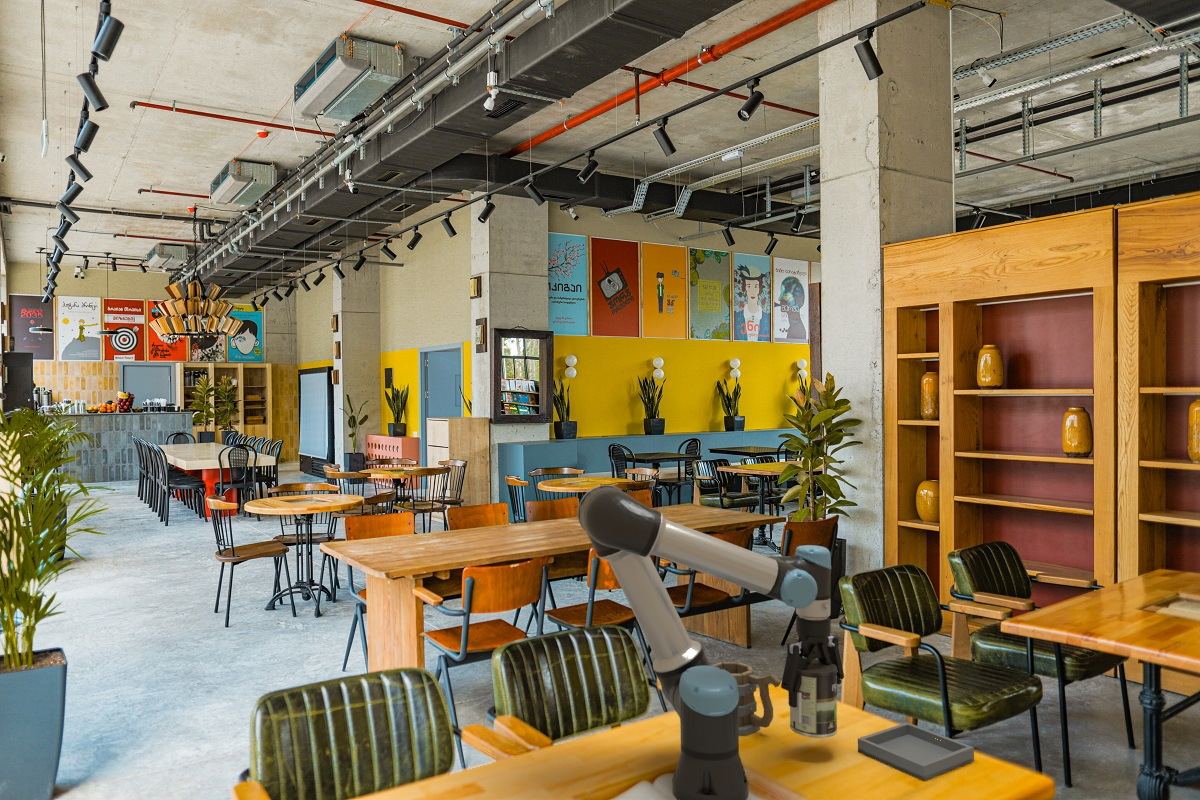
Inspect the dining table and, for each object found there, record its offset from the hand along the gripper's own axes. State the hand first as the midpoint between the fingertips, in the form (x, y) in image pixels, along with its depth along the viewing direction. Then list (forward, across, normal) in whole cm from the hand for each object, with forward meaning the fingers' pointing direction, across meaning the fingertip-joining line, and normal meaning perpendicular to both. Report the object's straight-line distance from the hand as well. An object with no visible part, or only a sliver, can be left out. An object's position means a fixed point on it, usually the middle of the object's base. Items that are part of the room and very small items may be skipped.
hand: (813, 716), depth 178 cm
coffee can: (+3, 0, 0) cm, 3 cm away
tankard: (+9, -3, +19) cm, 21 cm away
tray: (+8, +18, -13) cm, 23 cm away
